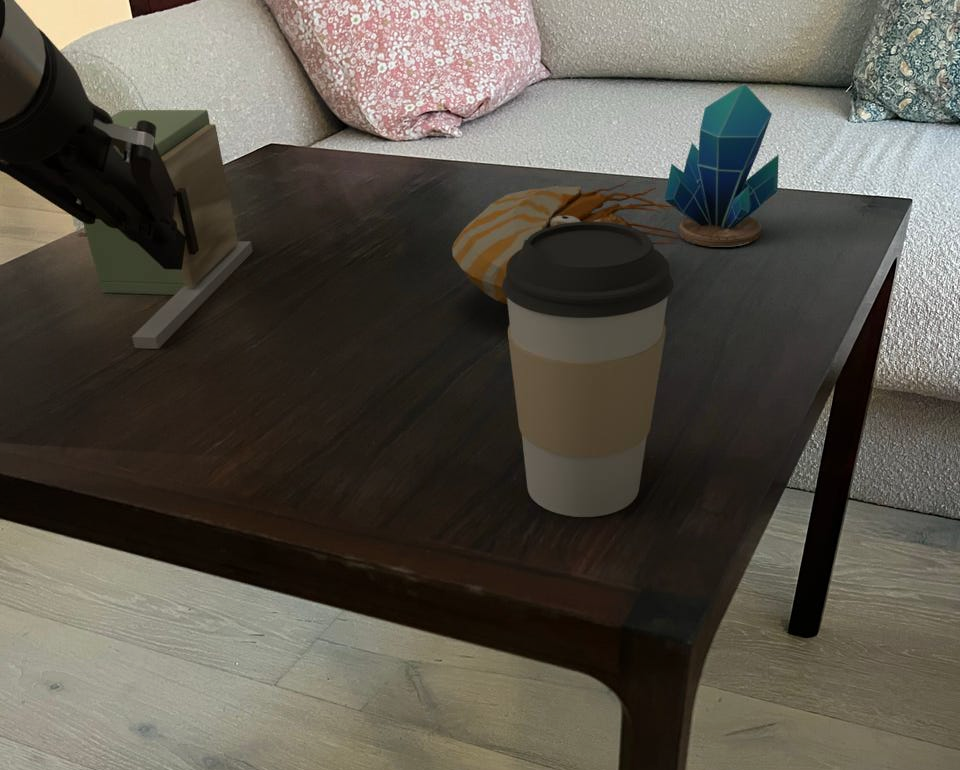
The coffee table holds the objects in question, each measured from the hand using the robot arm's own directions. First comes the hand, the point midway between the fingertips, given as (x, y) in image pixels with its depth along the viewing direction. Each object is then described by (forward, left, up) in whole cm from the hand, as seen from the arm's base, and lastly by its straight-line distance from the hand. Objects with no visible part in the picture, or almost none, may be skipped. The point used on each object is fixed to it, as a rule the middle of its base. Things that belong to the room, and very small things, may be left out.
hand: (175, 253), depth 85 cm
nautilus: (+32, +6, -5) cm, 33 cm away
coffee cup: (+36, -24, -5) cm, 44 cm away
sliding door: (0, +6, -3) cm, 7 cm away
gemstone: (+43, +20, -5) cm, 48 cm away
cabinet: (-4, +3, -5) cm, 7 cm away
